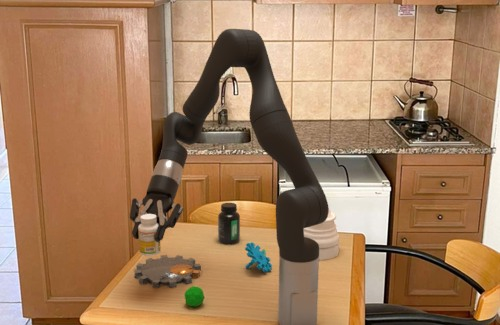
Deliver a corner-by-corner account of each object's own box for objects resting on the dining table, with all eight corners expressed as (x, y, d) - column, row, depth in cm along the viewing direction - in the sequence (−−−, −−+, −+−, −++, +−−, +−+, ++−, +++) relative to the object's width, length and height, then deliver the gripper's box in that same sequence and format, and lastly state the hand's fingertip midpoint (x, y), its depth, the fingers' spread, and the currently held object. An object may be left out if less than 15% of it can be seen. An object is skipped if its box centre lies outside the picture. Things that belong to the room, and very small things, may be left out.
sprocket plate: (207, 283, 171) (206, 277, 171) (138, 291, 167) (137, 285, 166) (194, 256, 188) (194, 251, 188) (132, 263, 184) (131, 257, 183)
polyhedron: (208, 304, 160) (208, 287, 158) (194, 311, 156) (193, 294, 155) (194, 298, 163) (194, 281, 162) (180, 305, 159) (180, 287, 158)
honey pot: (338, 261, 186) (340, 203, 181) (294, 258, 188) (295, 200, 183) (339, 244, 198) (341, 189, 193) (298, 242, 200) (299, 187, 195)
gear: (267, 273, 173) (243, 245, 175) (251, 286, 175) (229, 257, 177) (278, 263, 184) (256, 236, 185) (264, 275, 186) (242, 248, 187)
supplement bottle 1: (150, 246, 166) (149, 211, 163) (165, 251, 162) (163, 215, 160) (134, 252, 161) (133, 216, 159) (149, 258, 158) (147, 221, 156)
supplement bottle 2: (239, 244, 197) (239, 208, 194) (217, 244, 197) (217, 208, 194) (240, 236, 204) (239, 201, 201) (218, 236, 204) (218, 201, 201)
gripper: (135, 171, 166) (114, 229, 158) (186, 176, 162) (167, 236, 154) (146, 184, 172) (126, 241, 164) (194, 190, 168) (176, 249, 160)
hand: (146, 239), depth 159 cm, fingers closed on supplement bottle 1, 5 cm apart
